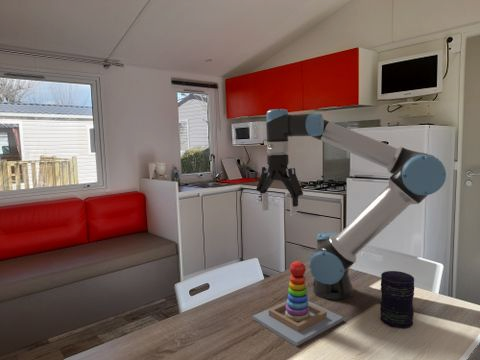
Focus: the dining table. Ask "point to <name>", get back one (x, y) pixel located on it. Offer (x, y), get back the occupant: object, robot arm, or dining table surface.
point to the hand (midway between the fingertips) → (278, 212)
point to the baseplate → (294, 329)
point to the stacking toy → (297, 294)
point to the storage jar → (397, 299)
